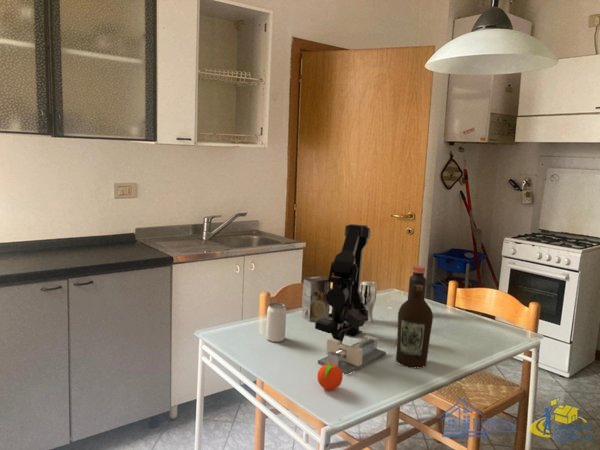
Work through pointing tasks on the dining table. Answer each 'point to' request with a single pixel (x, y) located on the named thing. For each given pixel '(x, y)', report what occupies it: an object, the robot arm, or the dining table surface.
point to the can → (276, 322)
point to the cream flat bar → (352, 352)
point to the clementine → (329, 376)
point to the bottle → (417, 279)
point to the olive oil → (414, 330)
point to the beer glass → (368, 297)
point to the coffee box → (315, 298)
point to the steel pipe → (367, 343)
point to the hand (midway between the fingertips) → (338, 346)
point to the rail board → (366, 359)
